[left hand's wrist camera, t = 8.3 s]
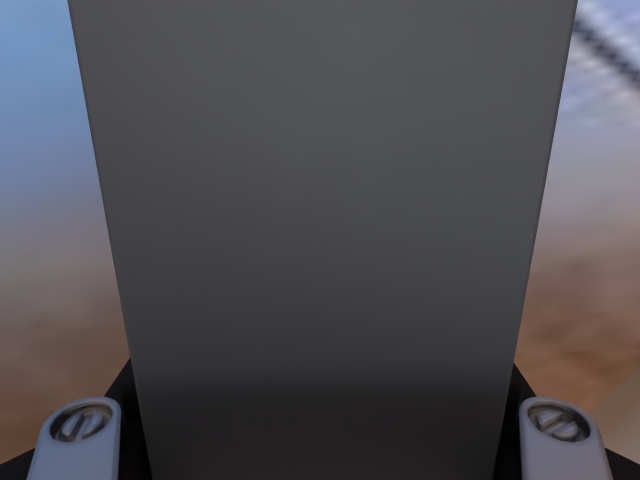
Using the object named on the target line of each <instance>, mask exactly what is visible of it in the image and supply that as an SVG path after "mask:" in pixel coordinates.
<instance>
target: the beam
mask: <svg viewBox="0 0 640 480" xmlns="http://www.w3.org/2000/svg"><path fill="white" fill-rule="evenodd" d="M577 1H578V0H68V6H69V12H70V17H71V23H72V29H73V34H74V40H75V46H76V51H77V57H78V63H79V68H80V74H81V80H82V85H83V91H84V96H85V102H86V108H87V113H88V119H89V125H90V130H91V136H92V142H93V147H94V153H95V159H96V164H97V170H98V176H99V181H100V187H101V193H102V198H103V204H104V210H105V215H106V221H107V227H108V232H109V238H110V244H111V249H112V255H113V261H114V266H115V272H116V278H117V283H118V289H119V295H120V300H121V306H122V312H123V317H124V323H125V329H126V334H127V340H128V346H129V351H130V357H131V363H132V368H133V374H134V380H135V385H136V391H137V397H138V402H139V408H140V414H141V419H142V425H143V431H144V436H145V442H146V448H147V453H148V459H149V465H150V470H151V476H152V480H493V475H494V469H495V464H496V458H497V452H498V447H499V441H500V435H501V430H502V424H503V419H504V413H505V407H506V402H507V396H508V390H509V385H510V379H511V373H512V368H513V362H514V357H515V351H516V345H517V340H518V334H519V328H520V323H521V317H522V311H523V306H524V300H525V295H526V289H527V283H528V278H529V272H530V266H531V261H532V255H533V249H534V244H535V238H536V233H537V227H538V221H539V216H540V210H541V204H542V199H543V193H544V187H545V182H546V176H547V171H548V165H549V159H550V154H551V148H552V142H553V137H554V131H555V125H556V120H557V114H558V109H559V103H560V97H561V92H562V86H563V80H564V75H565V69H566V63H567V58H568V52H569V47H570V41H571V35H572V30H573V24H574V18H575V13H576V7H577Z"/></svg>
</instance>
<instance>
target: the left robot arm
mask: <svg viewBox="0 0 640 480" xmlns="http://www.w3.org/2000/svg"><path fill="white" fill-rule="evenodd" d="M0 480H152V476H151V470H150V465H149V459H148V453H147V448H146V442H145V436H144V431H143V425H142V419H141V414H140V408H139V402H138V397H137V391H136V385H135V380H134V374H133V368H132V363H131V357H130V359H129V360H128V362H127V363H126V365H125V366H124V368H123V369H122V371H121V372H120V374H119V375H118V376H117V378H116V379H115V381H114V382H113V384H112V385H111V387H110V388H109V390H108V391H107V393H106V394H105V396H104V397H100V396H95V397H88V398H83V399H80V400H77V401H74V402H71V403H69V404H67V405H65V406H63V407H61V408H60V409H59V410H57V411H56V412H54V413H53V414H52V415H51V416H50V417H49V418H48V419H47V420H46V421H45V422H44V424H43V426H42V428H41V430H40V434H39V437H38V441H37V445H36V448H34V449H32V450H30V451H27V452H25V453H23V454H21V455H19V456H17V457H15V458H13V459H11V460H9V461H7V462H5V463H3V464H1V465H0ZM493 480H640V464H638V463H635V462H633V461H631V460H629V459H627V458H625V457H623V456H621V455H619V454H617V453H615V452H613V451H611V450H609V449H607V448H605V447H604V445H603V441H602V438H601V434H600V430H599V428H598V426H597V424H596V422H595V421H594V420H593V419H592V418H591V417H590V416H589V415H588V414H587V413H586V412H584V411H583V410H581V409H580V408H579V407H577V406H575V405H573V404H571V403H569V402H566V401H563V400H560V399H557V398H552V397H545V396H540V397H537V396H536V395H535V393H534V392H533V390H532V389H531V387H530V386H529V384H528V383H527V382H526V380H525V379H524V377H523V376H522V374H521V373H520V371H519V370H518V368H517V367H516V365H515V364H514V362H513V368H512V373H511V379H510V385H509V390H508V396H507V402H506V407H505V413H504V419H503V424H502V430H501V435H500V441H499V447H498V452H497V458H496V464H495V469H494V475H493Z"/></svg>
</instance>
